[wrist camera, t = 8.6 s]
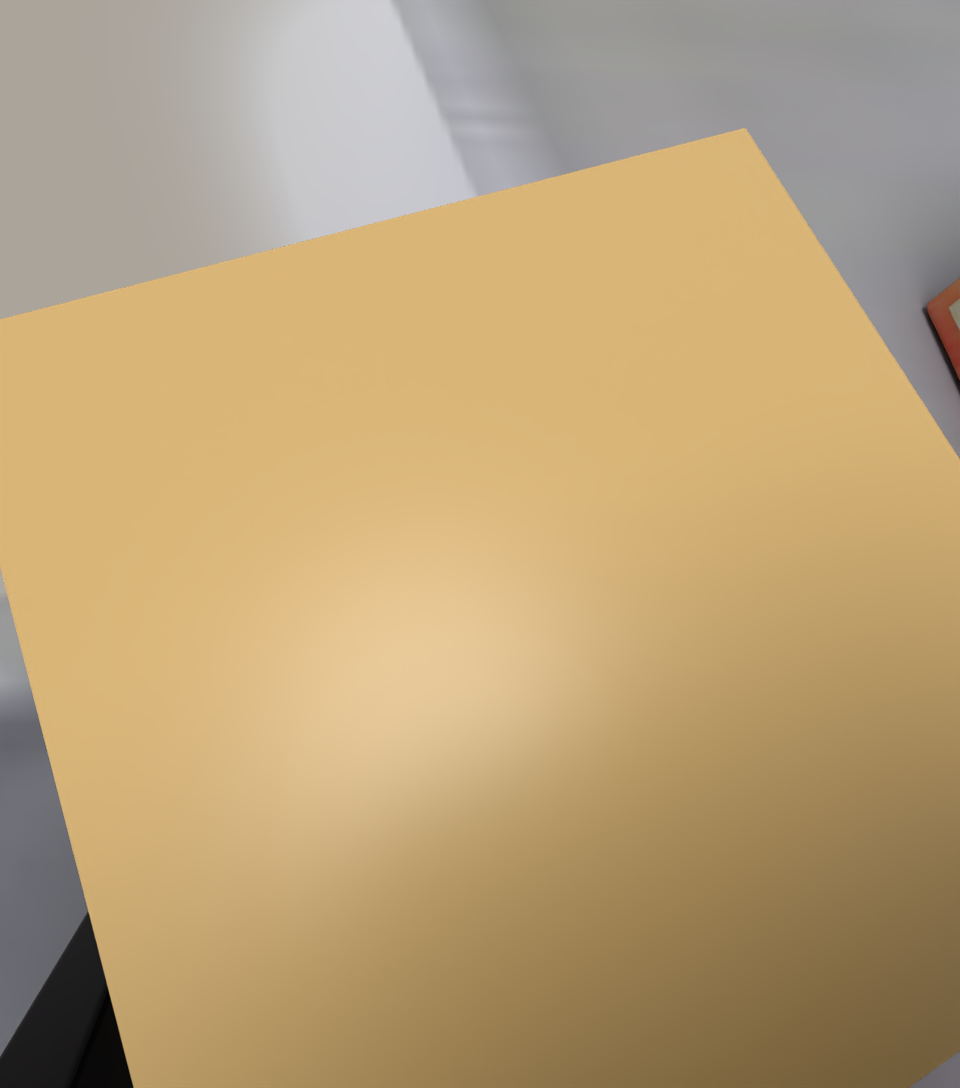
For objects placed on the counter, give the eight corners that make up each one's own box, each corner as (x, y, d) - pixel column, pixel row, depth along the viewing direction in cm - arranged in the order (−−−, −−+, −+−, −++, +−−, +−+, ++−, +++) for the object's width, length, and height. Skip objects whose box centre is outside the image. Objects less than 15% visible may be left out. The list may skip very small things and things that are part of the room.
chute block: (543, 727, 16) (1218, 859, 3) (394, 798, 15) (255, 1556, 2) (480, 583, 17) (745, 129, 4) (336, 642, 16) (-60, 333, 3)
